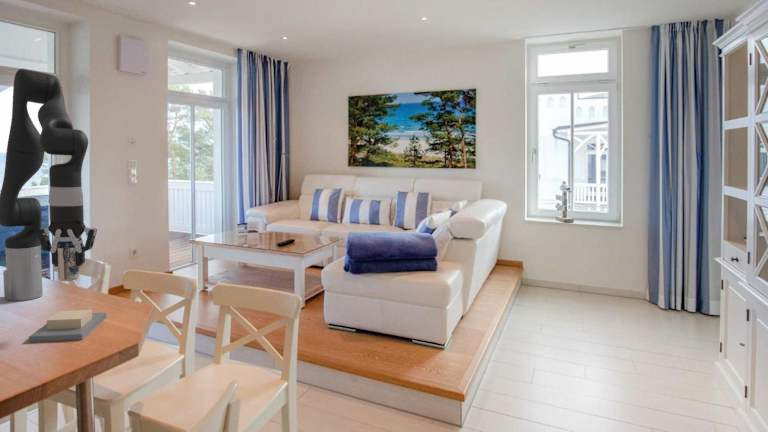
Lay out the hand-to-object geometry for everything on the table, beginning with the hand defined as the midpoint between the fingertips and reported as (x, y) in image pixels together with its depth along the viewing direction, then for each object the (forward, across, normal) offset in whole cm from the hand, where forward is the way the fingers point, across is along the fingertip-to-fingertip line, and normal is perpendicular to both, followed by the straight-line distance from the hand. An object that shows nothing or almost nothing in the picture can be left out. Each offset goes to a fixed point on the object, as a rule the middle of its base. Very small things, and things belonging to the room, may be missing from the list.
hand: (68, 265), depth 125 cm
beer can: (+4, 0, 0) cm, 4 cm away
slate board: (+18, 0, 0) cm, 18 cm away
